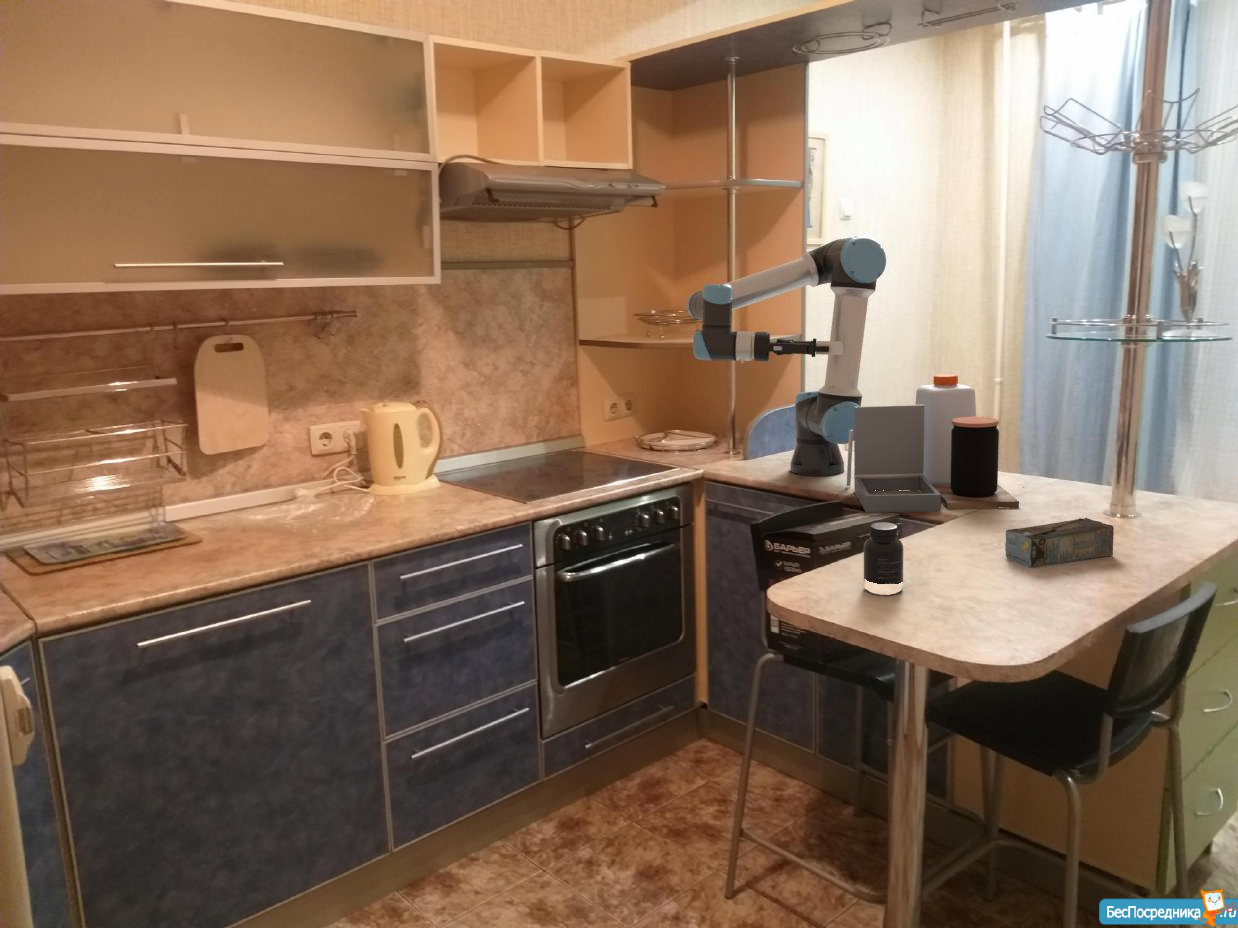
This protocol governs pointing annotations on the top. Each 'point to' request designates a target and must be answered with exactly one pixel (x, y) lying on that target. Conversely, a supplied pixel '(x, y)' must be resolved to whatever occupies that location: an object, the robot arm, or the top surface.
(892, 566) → the supplement bottle
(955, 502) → the walnut board
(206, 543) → the top surface
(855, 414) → the equipment case
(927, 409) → the plastic bottle
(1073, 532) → the beverage carton
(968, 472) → the coffee jar
